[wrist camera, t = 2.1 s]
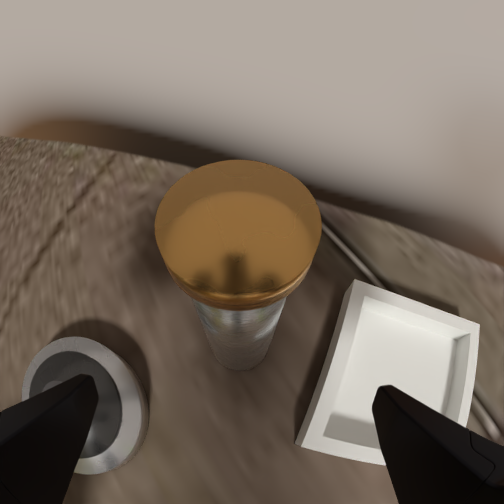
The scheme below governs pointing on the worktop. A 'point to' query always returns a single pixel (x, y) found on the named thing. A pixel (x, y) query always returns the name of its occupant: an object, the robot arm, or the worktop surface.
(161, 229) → the pin
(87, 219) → the worktop surface
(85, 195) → the worktop surface
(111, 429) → the disc
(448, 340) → the tray
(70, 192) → the worktop surface
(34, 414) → the robot arm
